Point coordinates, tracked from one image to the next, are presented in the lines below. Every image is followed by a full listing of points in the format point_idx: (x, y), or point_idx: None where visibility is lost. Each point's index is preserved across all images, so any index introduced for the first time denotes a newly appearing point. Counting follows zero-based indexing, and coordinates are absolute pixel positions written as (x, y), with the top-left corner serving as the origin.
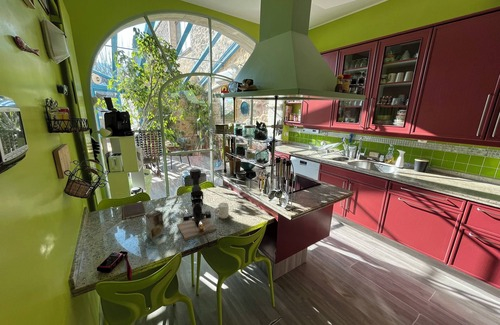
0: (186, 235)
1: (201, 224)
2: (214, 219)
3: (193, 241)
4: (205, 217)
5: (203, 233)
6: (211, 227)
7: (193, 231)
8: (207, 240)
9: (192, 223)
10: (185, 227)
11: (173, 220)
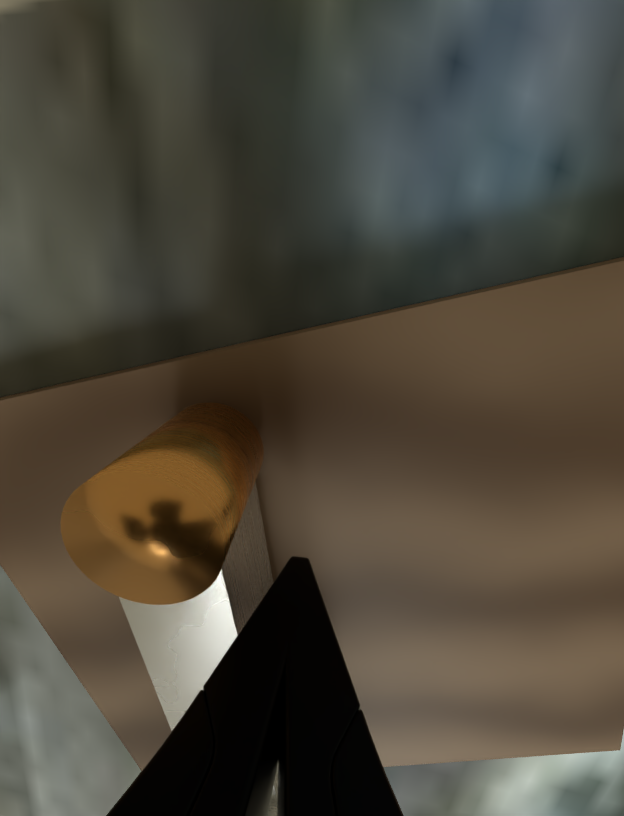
0: (612, 365)
1: (147, 596)
2: (23, 679)
3: (472, 115)
4: (142, 760)
5: (198, 354)
6: (4, 480)
7: (408, 467)
8: (110, 13)
9: (369, 697)
10: (521, 639)
11: (585, 809)
